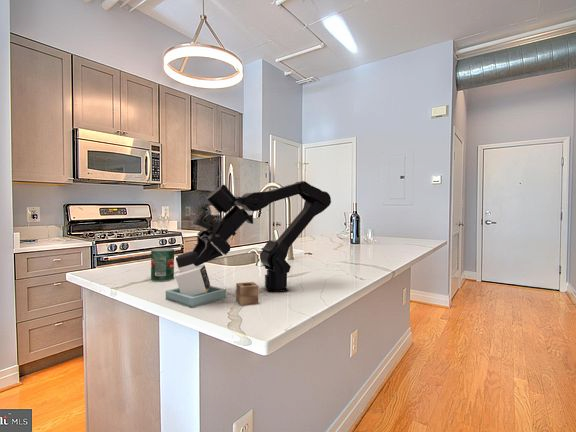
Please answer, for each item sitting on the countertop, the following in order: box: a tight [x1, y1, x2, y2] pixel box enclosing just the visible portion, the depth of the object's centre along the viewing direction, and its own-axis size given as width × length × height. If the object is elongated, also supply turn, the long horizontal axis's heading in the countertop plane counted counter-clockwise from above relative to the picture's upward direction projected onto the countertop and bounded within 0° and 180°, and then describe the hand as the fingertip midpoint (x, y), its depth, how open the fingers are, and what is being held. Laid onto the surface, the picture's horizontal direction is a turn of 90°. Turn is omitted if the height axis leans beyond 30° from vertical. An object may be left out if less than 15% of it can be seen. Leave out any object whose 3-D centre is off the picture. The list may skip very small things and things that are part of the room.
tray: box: [165, 285, 227, 309], centre depth 90 cm, size 12×12×2 cm
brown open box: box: [235, 281, 259, 306], centre depth 88 cm, size 5×5×5 cm
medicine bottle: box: [175, 250, 212, 297], centre depth 90 cm, size 7×7×12 cm
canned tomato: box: [150, 247, 175, 283], centre depth 113 cm, size 8×8×11 cm
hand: (191, 262), depth 89 cm, fingers open, 9 cm apart
